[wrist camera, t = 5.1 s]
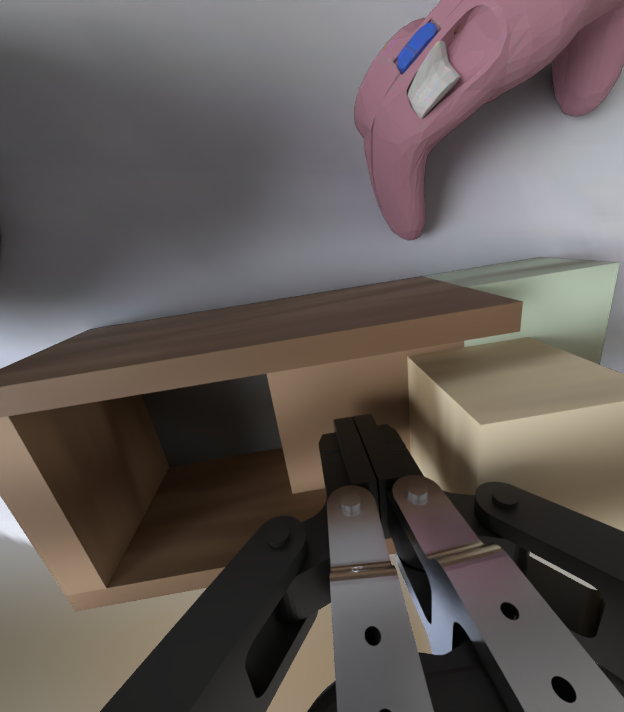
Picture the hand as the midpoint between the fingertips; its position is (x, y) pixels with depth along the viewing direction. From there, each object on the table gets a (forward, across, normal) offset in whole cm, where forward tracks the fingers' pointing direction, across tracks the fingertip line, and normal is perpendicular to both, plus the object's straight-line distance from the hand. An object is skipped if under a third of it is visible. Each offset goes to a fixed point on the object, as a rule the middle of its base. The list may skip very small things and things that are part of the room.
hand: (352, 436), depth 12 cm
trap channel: (+5, 0, 0) cm, 5 cm away
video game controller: (+5, -6, -11) cm, 14 cm away
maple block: (+1, -5, 0) cm, 5 cm away
